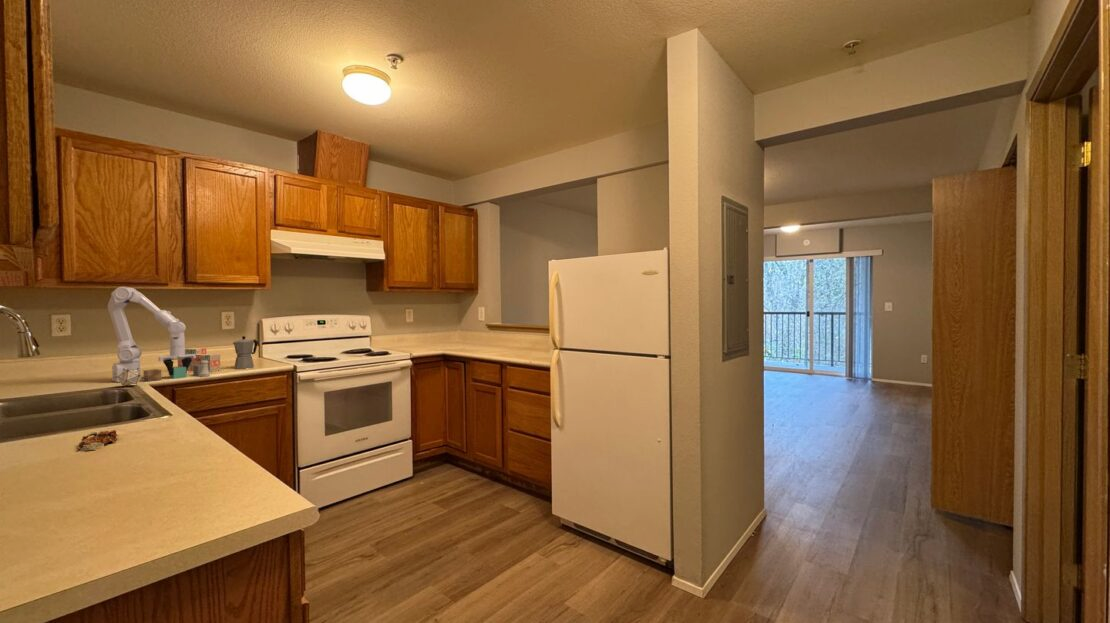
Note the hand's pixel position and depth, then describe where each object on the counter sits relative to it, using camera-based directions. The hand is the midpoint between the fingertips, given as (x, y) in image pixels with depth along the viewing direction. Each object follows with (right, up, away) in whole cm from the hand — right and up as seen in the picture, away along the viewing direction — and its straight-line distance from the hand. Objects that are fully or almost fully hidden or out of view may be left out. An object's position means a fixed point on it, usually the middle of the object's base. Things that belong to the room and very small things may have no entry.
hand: (177, 374), depth 229 cm
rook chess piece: (+11, -2, +3) cm, 11 cm away
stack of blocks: (-7, -2, +23) cm, 24 cm away
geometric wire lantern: (-1, -2, -25) cm, 25 cm away
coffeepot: (+11, -1, +34) cm, 36 cm away
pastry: (+70, -3, -112) cm, 132 cm away
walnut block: (-5, -2, -9) cm, 10 cm away
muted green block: (0, -2, 0) cm, 2 cm away
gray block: (+5, -2, +9) cm, 10 cm away
